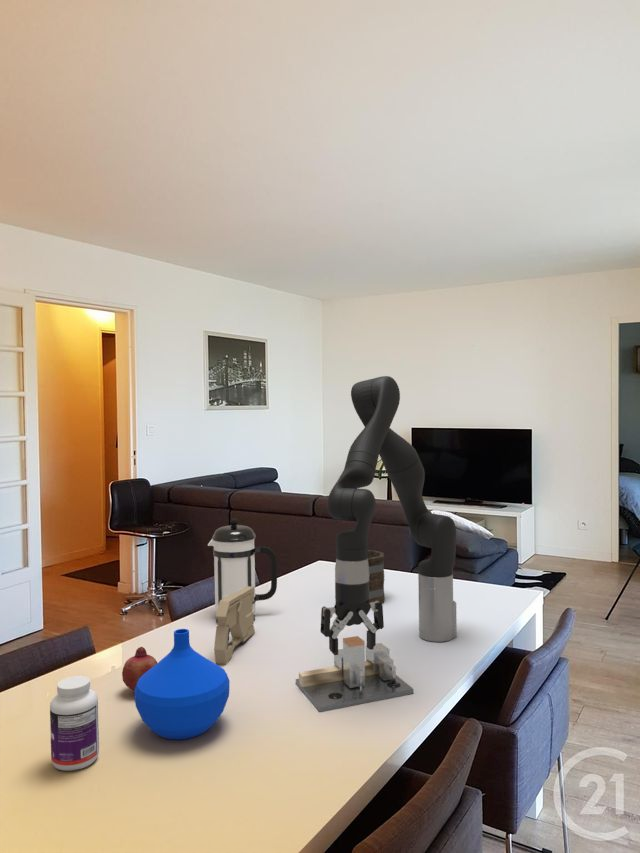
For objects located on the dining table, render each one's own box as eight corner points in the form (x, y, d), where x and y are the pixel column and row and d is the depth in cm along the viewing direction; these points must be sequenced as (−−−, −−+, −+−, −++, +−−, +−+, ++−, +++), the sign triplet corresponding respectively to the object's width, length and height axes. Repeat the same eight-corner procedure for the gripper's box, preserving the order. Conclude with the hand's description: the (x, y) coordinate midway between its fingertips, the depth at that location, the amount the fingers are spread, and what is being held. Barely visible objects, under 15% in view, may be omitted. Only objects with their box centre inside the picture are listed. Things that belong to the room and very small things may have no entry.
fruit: (120, 688, 147) (119, 644, 147) (156, 681, 150) (156, 638, 150) (124, 702, 140) (123, 656, 139) (163, 695, 143) (162, 650, 143)
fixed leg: (381, 665, 154) (380, 642, 154) (402, 682, 144) (402, 658, 144) (365, 668, 153) (365, 645, 153) (386, 685, 143) (386, 661, 143)
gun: (225, 666, 158) (226, 604, 159) (212, 666, 159) (213, 603, 160) (255, 640, 182) (255, 586, 183) (244, 639, 183) (244, 585, 183)
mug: (356, 592, 220) (356, 548, 220) (393, 597, 213) (392, 552, 213) (326, 608, 203) (325, 560, 203) (365, 614, 196) (364, 565, 196)
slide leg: (350, 670, 151) (349, 629, 151) (370, 689, 141) (369, 644, 141) (334, 673, 150) (333, 631, 150) (353, 692, 140) (352, 647, 140)
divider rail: (386, 667, 154) (386, 657, 154) (391, 671, 151) (391, 661, 151) (298, 683, 146) (298, 672, 146) (302, 687, 144) (302, 676, 143)
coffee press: (234, 630, 184) (232, 524, 183) (200, 618, 195) (198, 518, 194) (279, 615, 197) (277, 516, 196) (244, 604, 208) (242, 511, 207)
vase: (185, 761, 116) (182, 655, 115) (114, 735, 126) (112, 637, 125) (249, 719, 131) (247, 625, 131) (182, 698, 141) (180, 611, 140)
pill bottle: (59, 750, 120) (57, 673, 120) (104, 748, 121) (102, 671, 121) (44, 775, 112) (42, 692, 112) (92, 772, 113) (90, 690, 112)
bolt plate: (382, 668, 156) (382, 663, 156) (413, 693, 142) (413, 688, 142) (295, 683, 148) (295, 678, 148) (319, 711, 134) (319, 706, 134)
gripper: (373, 571, 150) (374, 641, 150) (315, 577, 145) (316, 649, 145) (388, 579, 143) (389, 652, 143) (328, 586, 138) (329, 662, 138)
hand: (352, 651), depth 144 cm, fingers open, 8 cm apart
